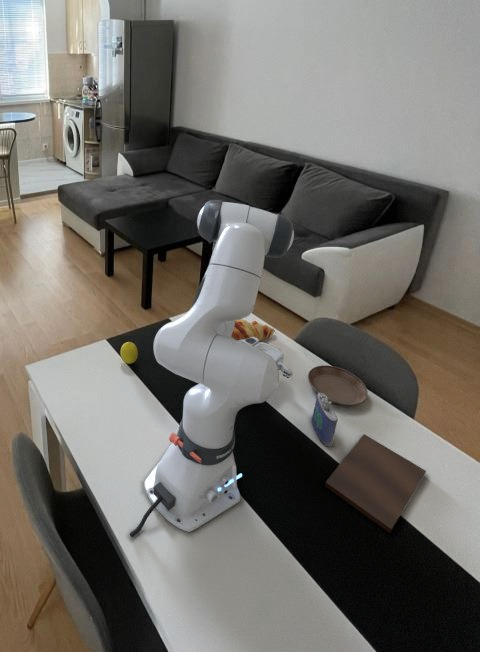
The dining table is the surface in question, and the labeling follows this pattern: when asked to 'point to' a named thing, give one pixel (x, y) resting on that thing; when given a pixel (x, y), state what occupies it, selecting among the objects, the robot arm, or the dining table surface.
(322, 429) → the flask
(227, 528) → the dining table surface
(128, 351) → the lemon
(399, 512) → the cutting board
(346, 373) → the saucer
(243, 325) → the croissant
